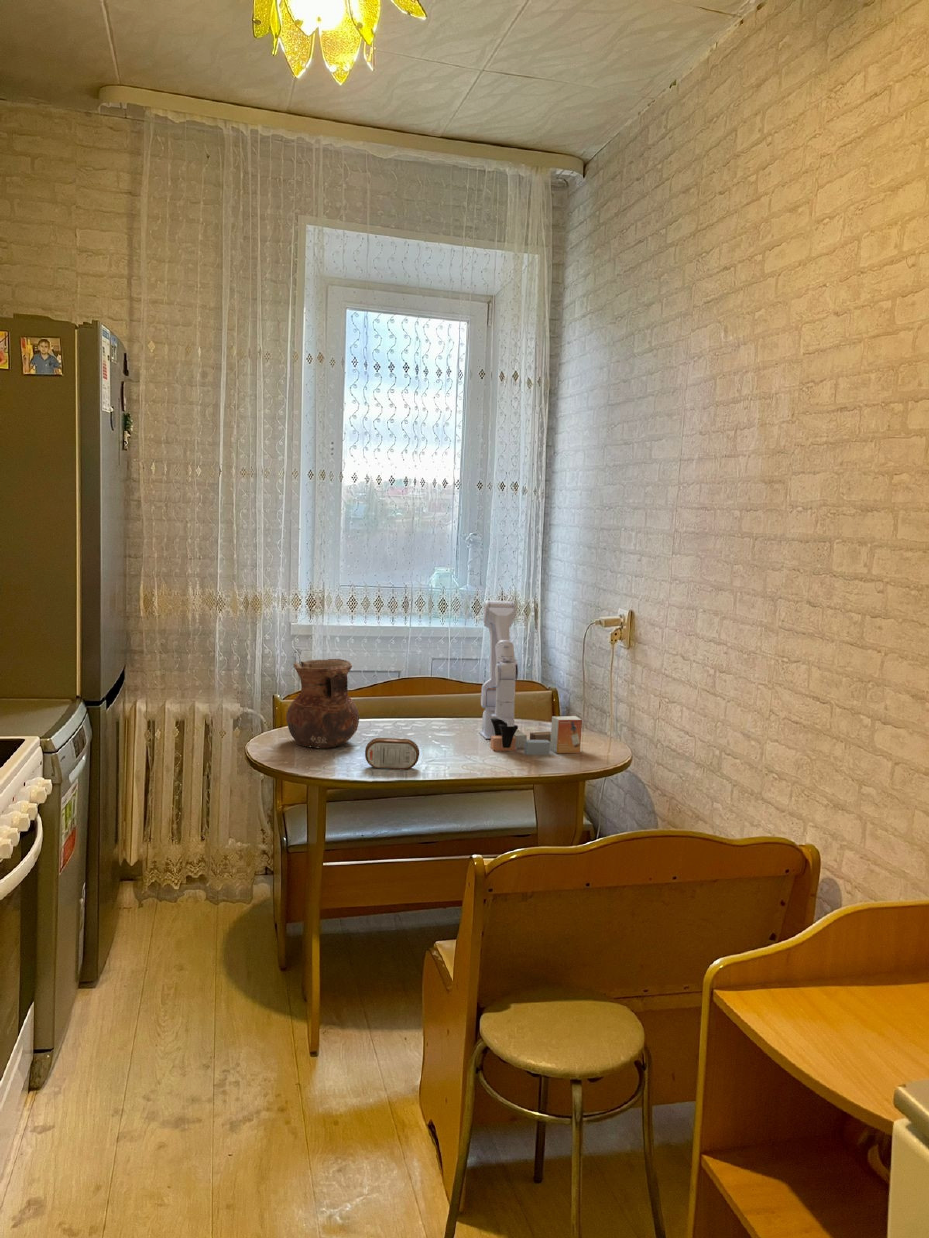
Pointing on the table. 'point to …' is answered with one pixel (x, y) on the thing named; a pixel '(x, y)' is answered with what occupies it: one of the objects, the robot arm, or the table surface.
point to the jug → (323, 705)
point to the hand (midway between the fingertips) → (503, 744)
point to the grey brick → (520, 739)
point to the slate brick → (537, 747)
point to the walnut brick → (540, 736)
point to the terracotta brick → (497, 744)
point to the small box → (566, 734)
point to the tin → (392, 753)
